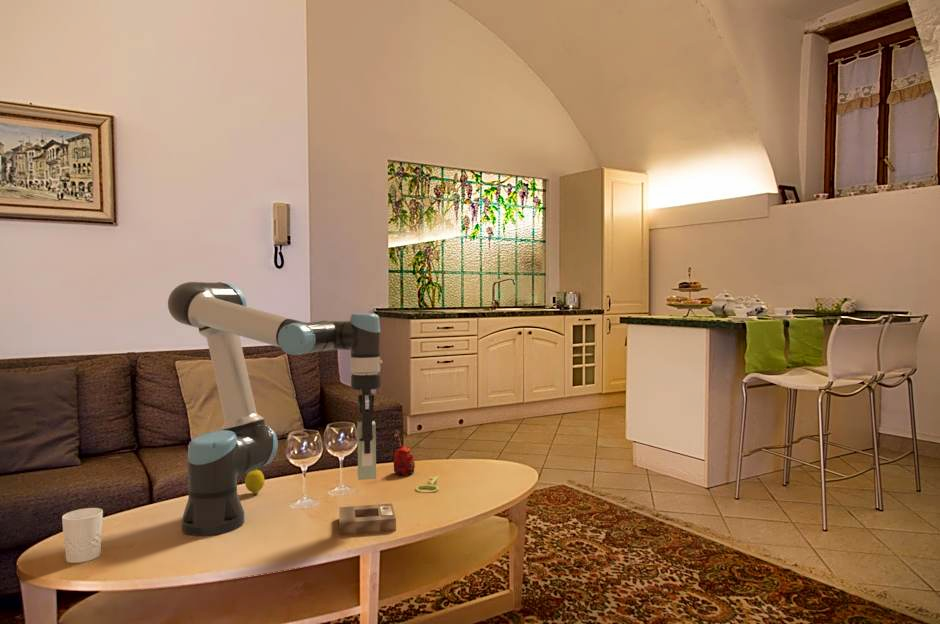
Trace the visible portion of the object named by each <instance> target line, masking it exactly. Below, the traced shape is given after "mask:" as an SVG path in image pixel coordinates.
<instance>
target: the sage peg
mask: <svg viewBox="0 0 940 624" xmlns="http://www.w3.org/2000/svg"><path fill="white" fill-rule="evenodd" d="M356 426H357V427H356V429H357V431H356V432H357V433H356V434H357V435H356V436H357V479H358V481H362V480H363V481H365V480H376V479H377V431H376V429H377V428H376V427H377V424H376V421H375V420H372V436H373V439H372V448H373V466H362V441H359V439H362V422H361V421H357V423H356Z"/></svg>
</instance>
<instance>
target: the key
mask: <svg viewBox="0 0 940 624" xmlns="http://www.w3.org/2000/svg"><path fill="white" fill-rule="evenodd" d="M438 479H439V476H438V475H437V476H433V477H432V476H430V477H428V480H431V481H430V482H427V484H420V485H416V487H415V489H414V490H416V491H415V492H417V493H421V492H422V493H423V494H434V493H439V490H440V488H439V487H438V486H437V485H435V484H436V482H437V481H438ZM422 488H426V490H423V489H422ZM427 489H429V490H427ZM422 493H421V494H422Z"/></svg>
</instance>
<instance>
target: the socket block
mask: <svg viewBox="0 0 940 624" xmlns="http://www.w3.org/2000/svg"><path fill="white" fill-rule="evenodd" d="M338 509H339V511H338V513H339V514H338V515H339V516H338V521H339V522H338V524H339V525H338V527H339V529H338V531H339V532H338V534H339V536H344V535H353V534H354V535H356V534H357V535H358V534H368V533H379V532H381V533H382V532H391V531H392V532H395V531H397V518H396V513H395V509H394V505H393V503H382V504H381V503H379V504H369V505H368V504H365V505H353V506H351V505H350V506H340V507H339V508H338Z"/></svg>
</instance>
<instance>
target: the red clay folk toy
mask: <svg viewBox="0 0 940 624" xmlns="http://www.w3.org/2000/svg"><path fill="white" fill-rule="evenodd" d="M395 431H396V432H394V438H397V437H398V442H399V446H398V448H397V450H396V451H395V454H394V457H393V472H395V474H396V475H397V476H402V477H407V476H409V475H412V474H414V473H415V468H416V463H415V458H414V455H413V453H412V452H411V449H410V448H409V447H408V446H403V445H402V443H401V439H400V435H399V433H401V432H402V431H401V430H400V431H398V430H397V429H395Z"/></svg>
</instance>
